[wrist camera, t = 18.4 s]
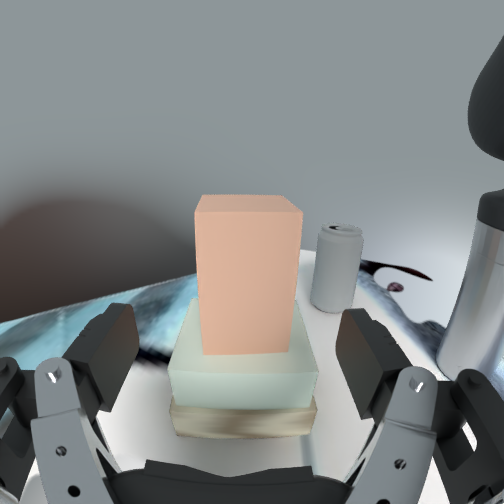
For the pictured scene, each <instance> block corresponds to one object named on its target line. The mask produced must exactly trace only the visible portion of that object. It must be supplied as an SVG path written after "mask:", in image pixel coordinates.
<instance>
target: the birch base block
mask: <svg viewBox="0 0 504 504" xmlns="http://www.w3.org/2000/svg"><path fill="white" fill-rule="evenodd" d="M169 412H170V415H171V419H172V422H173V425H174V428H175V431H176V434H177V436H187V437H200V438H224V439H252V438H275V437H289V436H299V435H308V434H310V431H311V428H312V425H313V422H314V419H315V416H316V413H317V407H316V404H315V400H314V397H313V395H312V399H311V403H310V406H309V407H308V408H294V409H272V410H234V409H211V408H197V407H186V406H177V405H176V403H175V399H174V395H173V396H172V401H171V405H170V410H169Z"/></svg>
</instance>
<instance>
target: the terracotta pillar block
mask: <svg viewBox="0 0 504 504" xmlns="http://www.w3.org/2000/svg"><path fill="white" fill-rule="evenodd" d="M302 220H303V212H302V211H300V210H299V209H298V208H297V207H295V206H294V205H293V204H292V203H291V202H289V201H288V200H287V199H286V198H284V197H283V196H282V195H281V196H280V195H202V198H201V200H200V202H199V204H198V206H197V208H196V210H195V239H196V262H197V281H198V297H199V311H200V324H201V335H202V346H203V355H241V354H264V353H280V352H288V348H289V341H290V334H291V326H292V318H293V310H294V302H295V293H296V284H297V274H298V264H299V254H300V243H301V232H302Z"/></svg>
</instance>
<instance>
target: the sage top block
mask: <svg viewBox="0 0 504 504" xmlns="http://www.w3.org/2000/svg"><path fill="white" fill-rule="evenodd" d="M167 370H168V374H169V379H170V383H171V387H172V391H173V395H174V399H175V403H176V405H177V406H186V407H197V408H211V409H234V410H272V409H294V408H308V407H309V406H310V403H311V399H312V395H313V391H314V388H315V384H316V380H317V375H318V369H317V365H316V362H315V359H314V355H313V352H312V349H311V346H310V342H309V339H308V336H307V333H306V329H305V326H304V323H303V320H302V317H301V314H300V311H299V307H298V304H297V301H296V300H295V302H294V310H293V318H292V326H291V334H290V341H289V348H288V352H280V353H264V354H241V355H203V346H202V335H201V324H200V311H199V298H192V299H191V301H190V304H189V307H188V310H187V313H186V316H185V318H184V321H183V324H182V327H181V330H180V333H179V336H178V339H177V342H176V345H175V348H174V351H173V354H172V357H171V360H170V363H169V366H168V369H167Z"/></svg>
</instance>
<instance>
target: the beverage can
mask: <svg viewBox="0 0 504 504" xmlns="http://www.w3.org/2000/svg"><path fill="white" fill-rule="evenodd" d="M361 234H362V230H361V229H359V228H358V227H355V226H351V225H347V224H340V223H327V224H323V225H322V230H321V231H320V232H319V234H318V242H317V252H316V260H315V269H314V277H313V285H312V292H311V302H312V303H313V304H314V305H315V306H316V307H317V308H318V309H319V310H321V311H324V312H327V313H341V312H343V311H344V310H345V309H349V308H350V307H351V306H352V302H353V297H354V292H355V287H356V282H357V277H358V271H359V266H360V260H361V254H362V248H363V241H364V240H363V238H362V236H361Z"/></svg>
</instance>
